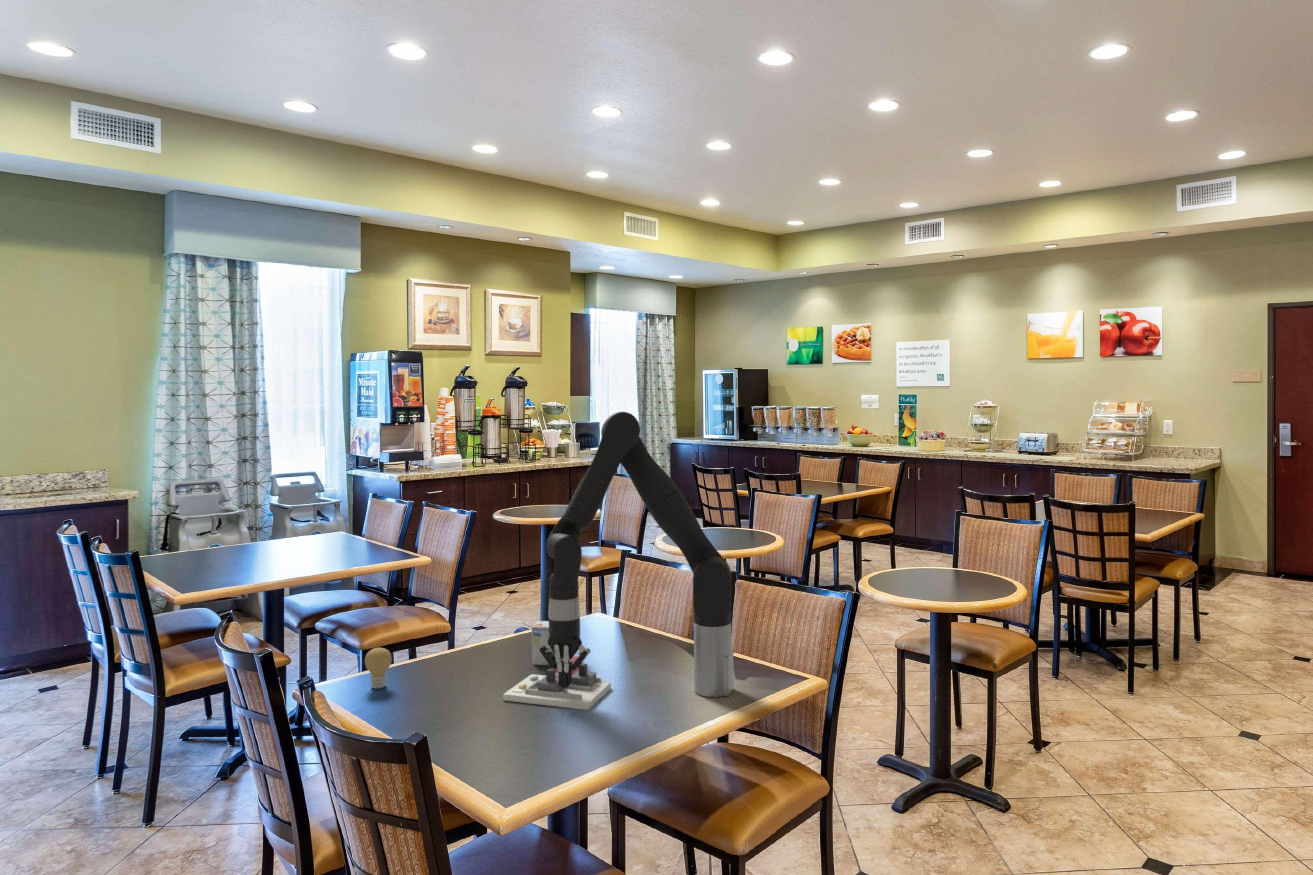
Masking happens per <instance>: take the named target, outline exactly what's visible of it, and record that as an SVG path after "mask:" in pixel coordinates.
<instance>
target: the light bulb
mask: <svg viewBox="0 0 1313 875" xmlns="http://www.w3.org/2000/svg"><path fill="white" fill-rule="evenodd" d="M392 658H393V656H392V653H391V652H390V650H388V649H386V648H385V647H384V648H383V647H375V648H372V649H370V650H369V651H368V652H367V653H366V655H365V658H364V665H365V668H366V670H368V672H369V673H370V674H371V676H370V686H371V688H373V689H377V690H378V689H383V688H385V687H386V686H387V680H388V678H387V673H386V672H387V671H388V670H389V669H390V666H391V664H392Z"/></svg>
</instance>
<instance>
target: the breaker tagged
mask: <svg viewBox="0 0 1313 875" xmlns="http://www.w3.org/2000/svg"><path fill="white" fill-rule="evenodd" d="M545 673H546V674H545V676H546V677H544V678H543V679H542V680H540V681H539V682H537V690H543V691H553V692H561V691H562V690H563V689H564V688H565V687H561V684H559V677H555V669H552V668H548V669H546V671H545Z"/></svg>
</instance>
